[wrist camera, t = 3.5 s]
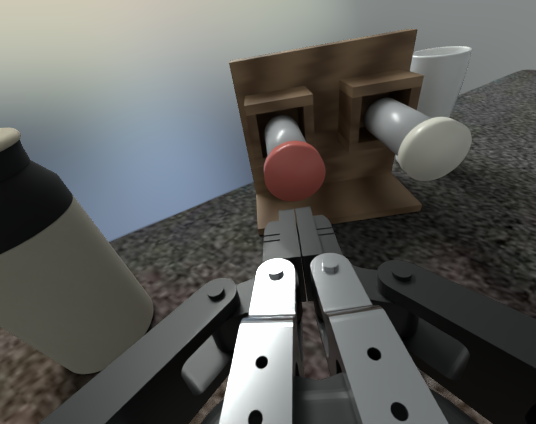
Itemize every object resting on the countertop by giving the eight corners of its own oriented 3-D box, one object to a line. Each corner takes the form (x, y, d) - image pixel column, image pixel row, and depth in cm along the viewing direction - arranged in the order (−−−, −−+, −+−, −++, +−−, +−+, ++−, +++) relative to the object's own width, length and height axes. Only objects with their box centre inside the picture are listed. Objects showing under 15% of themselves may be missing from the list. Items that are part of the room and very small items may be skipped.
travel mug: (150, 280, 27) (36, 116, 17) (159, 343, 22) (-10, 152, 11) (72, 315, 25) (-120, 153, 14) (58, 397, 19) (-289, 224, 8)
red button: (304, 149, 28) (301, 106, 26) (325, 196, 20) (325, 141, 18) (263, 155, 29) (256, 114, 26) (269, 205, 21) (259, 152, 18)
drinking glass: (448, 161, 38) (486, 45, 29) (419, 176, 36) (450, 56, 27) (408, 148, 43) (430, 46, 34) (380, 161, 41) (396, 56, 32)
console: (384, 172, 38) (407, 29, 27) (420, 211, 30) (473, 29, 19) (257, 192, 39) (230, 60, 28) (259, 235, 31) (222, 73, 20)
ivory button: (399, 133, 28) (407, 88, 25) (459, 176, 20) (481, 116, 17) (357, 140, 28) (361, 96, 25) (400, 185, 20) (412, 127, 17)
